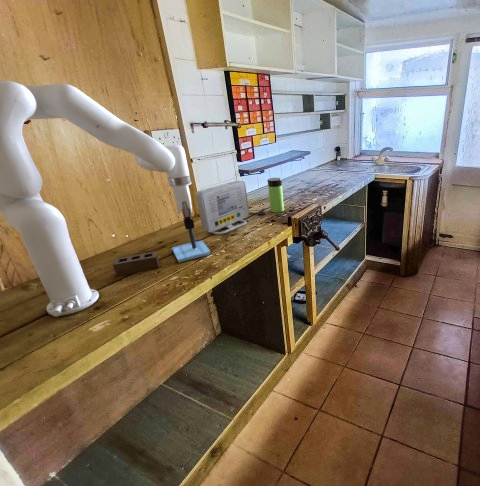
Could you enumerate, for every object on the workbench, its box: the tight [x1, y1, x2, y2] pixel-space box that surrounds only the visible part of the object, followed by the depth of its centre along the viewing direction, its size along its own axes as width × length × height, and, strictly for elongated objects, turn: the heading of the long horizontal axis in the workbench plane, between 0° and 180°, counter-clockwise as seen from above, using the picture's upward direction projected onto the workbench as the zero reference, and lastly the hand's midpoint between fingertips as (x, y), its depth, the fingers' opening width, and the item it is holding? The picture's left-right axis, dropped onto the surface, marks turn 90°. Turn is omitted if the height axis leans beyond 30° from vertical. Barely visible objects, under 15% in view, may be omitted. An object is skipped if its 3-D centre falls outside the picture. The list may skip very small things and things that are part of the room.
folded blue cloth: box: [171, 240, 211, 263], centre depth 124 cm, size 14×12×1 cm
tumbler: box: [267, 177, 285, 213], centre depth 167 cm, size 8×8×17 cm
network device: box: [195, 179, 250, 235], centre depth 146 cm, size 26×9×20 cm, turn 148°
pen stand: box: [112, 250, 160, 277], centre depth 112 cm, size 5×13×4 cm, turn 114°
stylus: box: [187, 228, 197, 249], centre depth 122 cm, size 2×2×15 cm
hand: (190, 227), depth 121 cm, fingers closed on stylus, 1 cm apart
